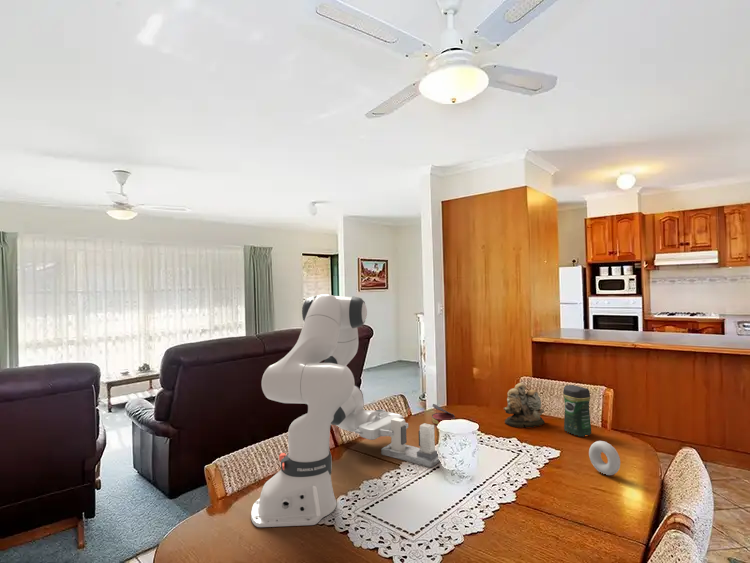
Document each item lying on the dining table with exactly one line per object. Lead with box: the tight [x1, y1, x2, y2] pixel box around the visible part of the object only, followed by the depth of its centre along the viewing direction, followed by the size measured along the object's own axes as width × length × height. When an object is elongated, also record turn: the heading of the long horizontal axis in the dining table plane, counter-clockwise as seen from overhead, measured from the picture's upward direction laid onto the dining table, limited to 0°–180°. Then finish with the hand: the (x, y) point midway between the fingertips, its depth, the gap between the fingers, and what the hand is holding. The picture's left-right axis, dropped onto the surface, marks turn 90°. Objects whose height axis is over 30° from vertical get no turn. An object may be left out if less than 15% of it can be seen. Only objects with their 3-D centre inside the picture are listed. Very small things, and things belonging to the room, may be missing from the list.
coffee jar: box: [562, 384, 592, 437], centre depth 167 cm, size 10×8×19 cm
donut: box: [588, 440, 621, 476], centre depth 131 cm, size 10×3×10 cm, turn 23°
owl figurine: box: [503, 382, 545, 428], centre depth 181 cm, size 18×12×17 cm, turn 103°
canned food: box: [431, 403, 456, 426], centre depth 184 cm, size 11×10×10 cm
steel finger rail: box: [380, 422, 440, 468], centre depth 147 cm, size 20×8×12 cm, turn 53°
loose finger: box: [390, 418, 408, 452], centre depth 150 cm, size 5×3×12 cm, turn 53°
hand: (400, 429), depth 150 cm, fingers open, 8 cm apart
